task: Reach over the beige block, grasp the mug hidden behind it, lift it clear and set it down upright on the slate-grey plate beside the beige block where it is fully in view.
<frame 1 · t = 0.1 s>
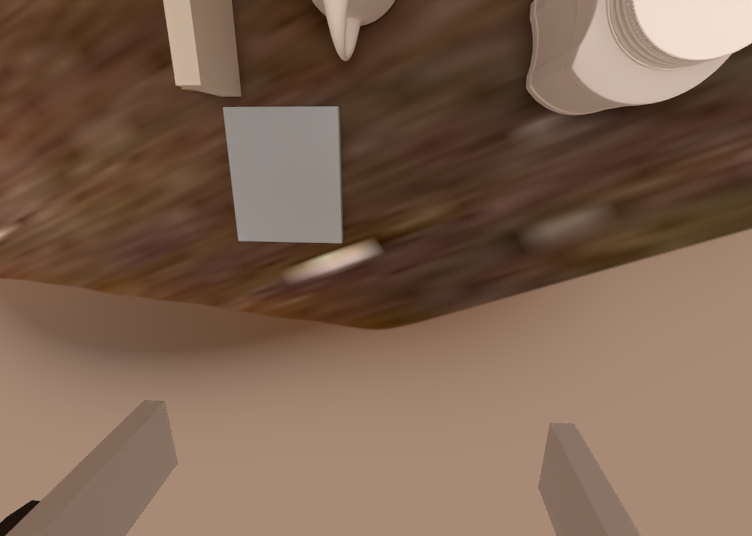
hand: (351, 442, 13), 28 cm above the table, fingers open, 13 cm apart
jar: (583, 44, 33), on the table
beige block: (224, 31, 34), on the table
plate: (287, 177, 38), on the table
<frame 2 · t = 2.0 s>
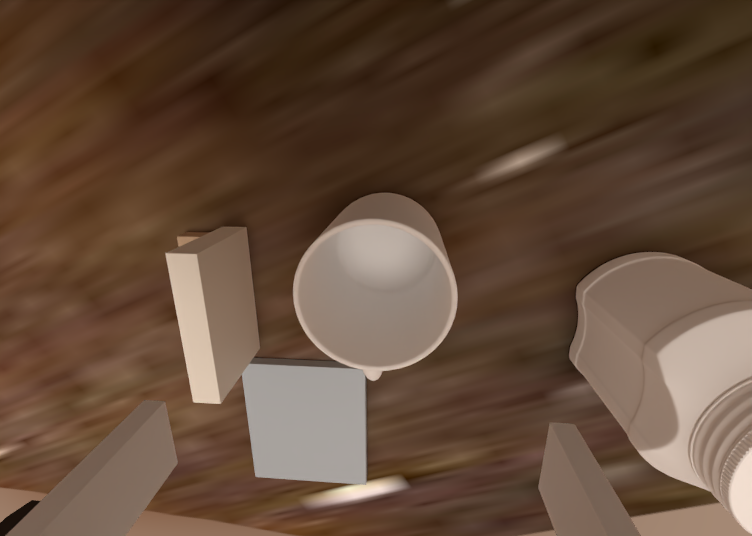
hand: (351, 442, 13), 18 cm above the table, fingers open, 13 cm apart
jar: (633, 319, 30), on the table
mug: (384, 265, 30), on the table
beige block: (242, 290, 32), on the table
plate: (309, 419, 36), on the table
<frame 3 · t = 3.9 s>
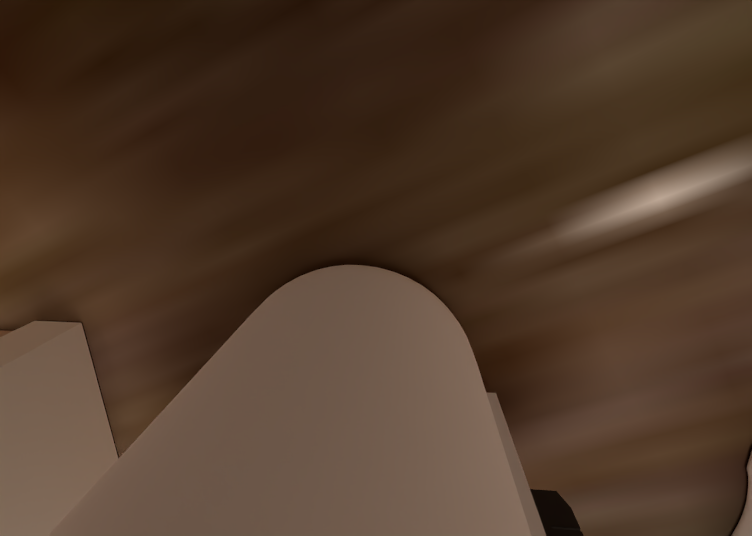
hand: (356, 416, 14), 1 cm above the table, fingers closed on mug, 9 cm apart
mug: (357, 397, 15), on the table, touching gripper
beige block: (90, 433, 17), on the table
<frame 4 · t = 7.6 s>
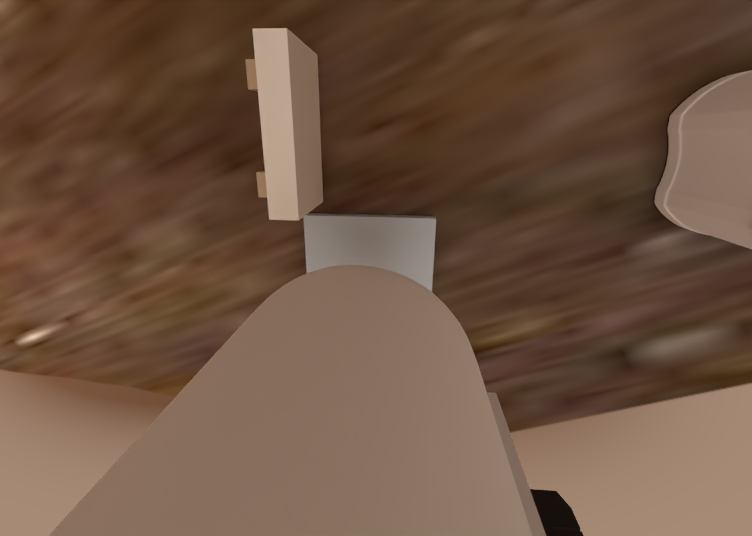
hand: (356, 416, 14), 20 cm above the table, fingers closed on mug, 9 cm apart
jar: (726, 156, 28), on the table
mug: (357, 397, 15), point 19 cm above the table, touching gripper
beige block: (308, 132, 30), on the table
plate: (370, 285, 34), on the table
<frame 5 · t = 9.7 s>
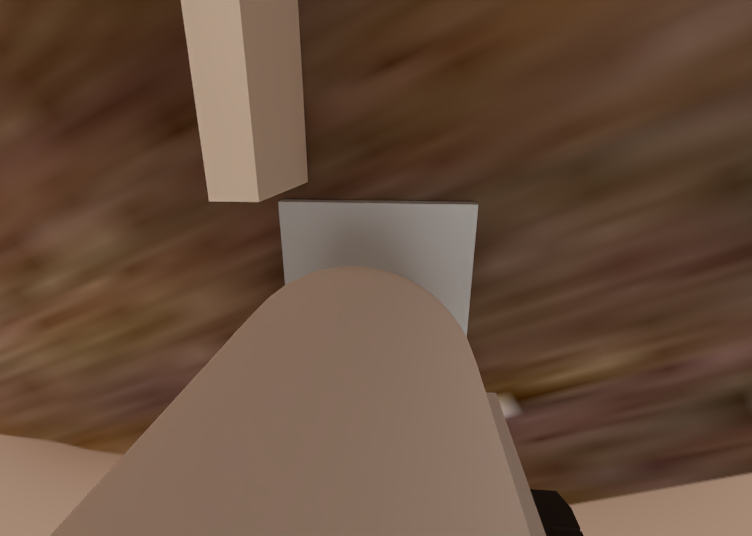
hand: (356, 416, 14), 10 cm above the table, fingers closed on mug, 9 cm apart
mug: (356, 398, 15), point 9 cm above the table, touching gripper
beige block: (283, 75, 20), on the table
plate: (377, 304, 24), on the table
when the fingers open (3 cm above the table, at t = 11.4 s): mug drops 1 cm, resting on plate.
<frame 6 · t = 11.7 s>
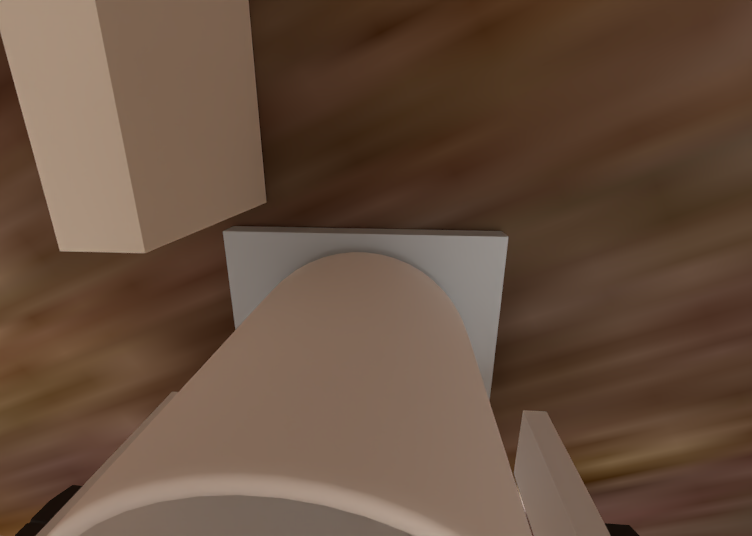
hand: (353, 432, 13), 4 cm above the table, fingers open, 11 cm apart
mug: (361, 375, 17), point 1 cm above the table, touching plate
beige block: (226, 50, 14), on the table
plate: (365, 366, 17), on the table
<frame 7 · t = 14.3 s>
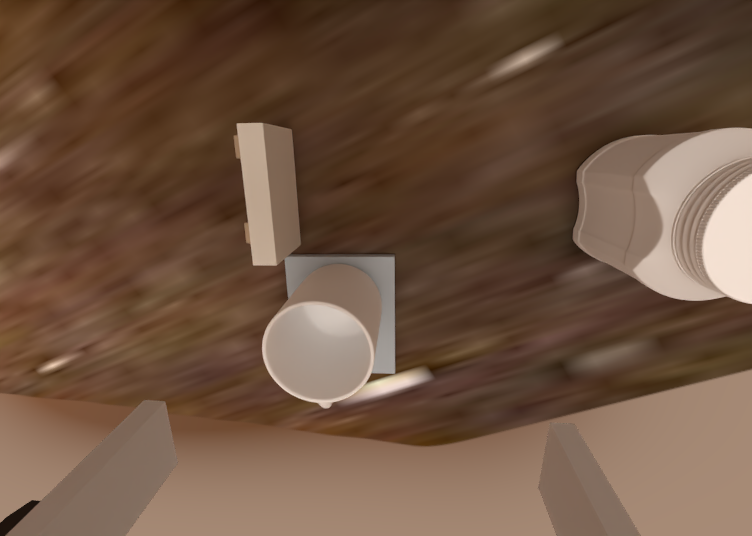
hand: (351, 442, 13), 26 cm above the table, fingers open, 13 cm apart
jar: (626, 201, 35), on the table
mug: (340, 316, 39), point 1 cm above the table, touching plate
beige block: (286, 189, 37), on the table
plate: (343, 313, 40), on the table
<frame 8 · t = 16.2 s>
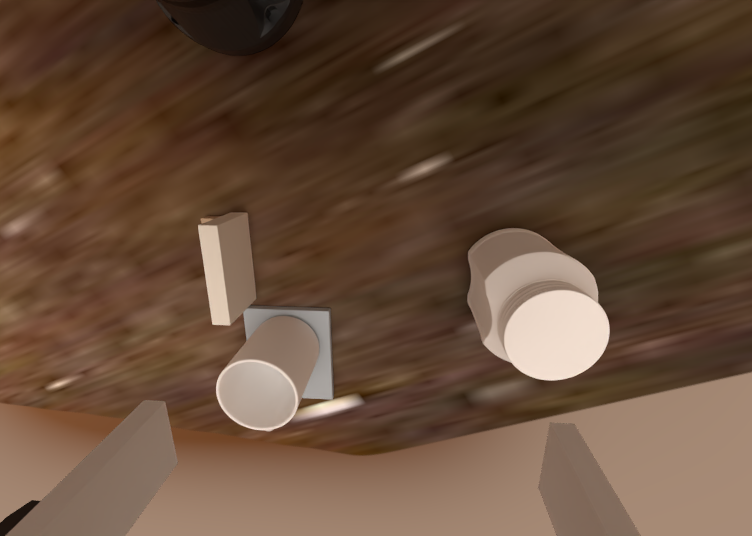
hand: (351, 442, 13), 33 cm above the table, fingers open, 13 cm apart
jar: (508, 274, 45), on the table
mug: (288, 354, 49), point 1 cm above the table, touching plate
beige block: (244, 256, 46), on the table
plate: (291, 351, 50), on the table
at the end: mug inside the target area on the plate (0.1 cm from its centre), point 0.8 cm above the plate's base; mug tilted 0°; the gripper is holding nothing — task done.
